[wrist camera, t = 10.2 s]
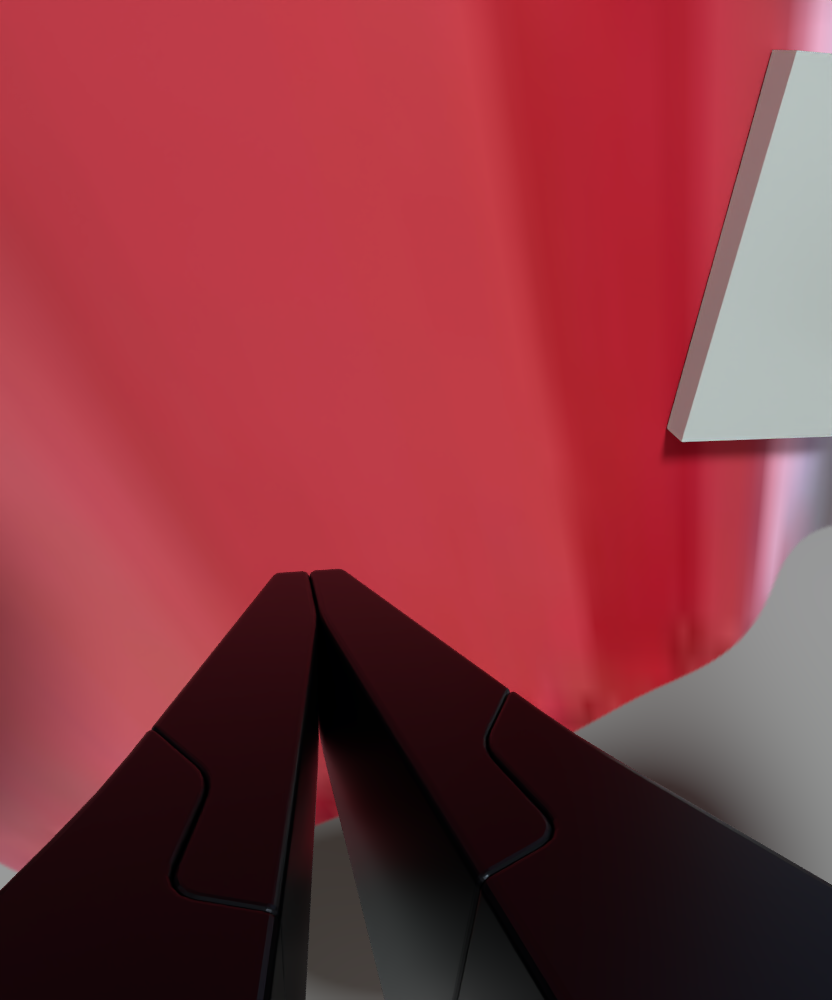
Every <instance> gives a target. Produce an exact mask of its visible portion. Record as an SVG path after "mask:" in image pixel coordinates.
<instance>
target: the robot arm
mask: <svg viewBox="0 0 832 1000" xmlns="http://www.w3.org/2000/svg"><path fill="white" fill-rule="evenodd" d="M319 732H320V739H321V744H322V748H323V753H324V757H325V761H326V766H327V770H328V774H329V778H330V782H331V786H332V790H333V794H334V798H335V802H336V806H337V810H338V814H339V818H340V822H341V826H342V830H343V834H344V838H345V842H346V846H347V850H348V854H349V858H350V862H351V866H352V870H353V874H354V878H355V882H356V886H357V890H358V894H359V898H360V903H361V907H362V911H363V914H364V919H365V923H366V926H367V931H368V935H369V939H370V943H371V947H372V951H373V954H374V959H375V963H376V967H377V971H378V975H379V979H380V983H381V987H382V991H383V995H384V999H385V1000H832V885H831V884H829V883H828V882H826V881H824V880H823V879H821V878H819V877H817V876H816V875H814V874H812V873H811V872H809V871H807V870H805V869H803V868H802V867H800V866H799V865H797V864H795V863H793V862H792V861H790V860H788V859H787V858H785V857H783V856H781V855H780V854H778V853H776V852H775V851H773V850H771V849H769V848H767V847H766V846H764V845H763V844H761V843H759V842H757V841H756V840H754V839H752V838H750V837H749V836H747V835H745V834H744V833H742V832H740V831H738V830H737V829H735V828H733V827H732V826H730V825H728V824H726V823H725V822H723V821H721V820H720V819H718V818H716V817H714V816H713V815H711V814H709V813H708V812H706V811H704V810H702V809H701V808H699V807H697V806H695V805H694V804H692V803H690V802H689V801H687V800H685V799H684V798H682V797H680V796H678V795H677V794H675V793H673V792H671V791H670V790H668V789H666V788H665V787H663V786H661V785H659V784H658V783H656V782H654V781H653V780H651V779H649V778H647V777H646V776H644V775H642V774H641V773H639V772H637V771H636V770H633V769H632V768H630V767H628V766H627V765H625V764H624V763H622V762H620V761H619V760H617V759H615V758H614V757H612V756H610V755H609V754H607V753H605V752H604V751H602V750H601V749H599V748H597V747H596V746H594V745H592V744H591V743H589V742H587V741H586V740H584V739H583V738H581V737H579V736H578V735H576V734H575V733H573V732H572V731H570V730H569V729H567V728H566V727H564V726H563V725H561V724H560V723H558V722H557V721H555V720H554V719H552V718H551V717H550V716H548V715H547V714H545V713H544V712H542V711H541V710H539V709H538V708H536V707H535V706H534V705H532V704H531V703H529V702H528V701H527V700H525V699H524V698H522V697H521V696H520V695H518V694H517V693H515V692H510V691H509V689H508V688H507V687H505V686H504V685H502V684H501V683H500V682H498V681H497V680H495V679H494V678H493V677H491V676H490V675H489V674H487V673H486V672H484V671H483V670H482V669H480V668H479V667H477V666H476V665H475V664H473V663H472V662H471V661H469V660H468V659H466V658H465V657H464V656H462V655H461V654H459V653H458V652H457V651H455V650H454V649H452V648H451V647H450V646H448V645H447V644H446V643H444V642H443V641H441V640H440V639H439V638H437V637H436V636H434V635H433V634H432V633H430V632H429V631H428V630H426V629H425V628H423V627H422V626H421V625H419V624H418V623H416V622H415V621H414V620H412V619H411V618H410V617H408V616H407V615H405V614H404V613H403V612H401V611H400V610H398V609H397V608H396V607H394V606H393V605H391V604H390V603H389V602H387V601H386V600H385V599H383V598H382V597H380V596H379V595H378V594H376V593H375V592H373V591H372V590H371V589H369V588H368V587H367V586H365V585H364V584H362V583H361V582H360V581H358V580H357V579H355V578H354V577H353V576H351V575H350V574H348V573H347V572H346V571H344V570H342V569H330V570H315V571H313V572H312V573H311V574H310V576H309V575H308V574H307V573H306V572H303V571H300V572H285V573H277V574H275V575H274V576H273V577H272V578H271V579H270V581H269V582H268V583H267V584H266V586H265V587H264V588H263V589H262V591H261V592H260V593H259V594H258V596H257V597H256V598H255V599H254V601H253V602H252V603H251V604H250V606H249V607H248V608H247V609H246V611H245V612H244V613H243V614H242V616H241V617H240V618H239V619H238V621H237V622H236V623H235V624H234V626H233V627H232V628H231V629H230V631H229V632H228V633H227V634H226V636H225V637H224V638H223V639H222V641H221V642H220V643H219V644H218V646H217V647H216V648H215V649H214V651H213V652H212V653H211V654H210V656H209V657H208V658H207V659H206V661H205V662H204V663H203V664H202V666H201V667H200V668H199V669H198V671H197V672H196V673H195V675H194V676H193V677H192V678H191V680H190V681H189V682H188V683H187V685H186V686H185V687H184V688H183V690H182V691H181V692H180V693H179V695H178V696H177V697H176V698H175V700H174V701H173V702H172V703H171V705H170V706H169V707H168V708H167V710H166V711H165V712H164V713H163V715H162V716H161V717H160V718H159V720H158V721H157V722H156V723H155V725H154V726H153V727H152V730H150V731H148V732H147V733H146V734H145V735H144V737H143V738H142V739H141V740H140V742H139V743H138V744H137V745H136V747H135V748H134V749H133V750H132V752H131V753H130V754H129V755H128V756H127V758H126V759H125V760H124V761H123V762H122V763H121V765H120V766H119V767H118V768H117V769H116V770H115V772H114V773H113V774H112V775H111V776H110V777H109V779H108V780H107V781H106V782H105V783H104V784H103V786H102V787H101V788H100V789H99V790H98V791H97V793H96V794H95V795H94V796H93V797H92V798H91V799H90V800H89V801H88V802H87V803H86V804H85V805H84V806H83V807H82V808H81V809H80V810H79V811H78V812H77V813H76V815H75V816H74V817H73V818H72V819H71V820H70V821H69V822H68V823H67V824H66V825H65V826H64V827H63V828H62V829H61V830H60V831H59V832H58V833H57V834H56V835H55V836H54V837H53V838H52V840H51V841H50V842H48V843H47V844H46V845H45V846H44V847H43V848H42V849H41V850H40V851H39V852H38V853H37V854H36V855H35V856H34V857H33V858H32V859H31V860H30V861H29V862H28V863H27V864H26V865H25V866H24V867H23V868H22V869H21V870H20V871H19V872H18V873H17V874H16V875H15V876H14V877H13V878H12V879H11V880H10V881H9V882H8V883H7V884H6V885H5V886H4V887H3V888H2V889H1V890H0V1000H305V999H306V980H307V959H308V941H309V922H310V903H311V884H312V866H313V847H314V846H313V845H314V828H315V809H316V790H317V771H318V745H319Z"/></svg>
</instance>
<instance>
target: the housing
mask: <svg viewBox="0 0 832 1000" xmlns="http://www.w3.org/2000/svg"><path fill="white" fill-rule="evenodd" d="M667 429H668V430H669V431H670V432H671V433H672V434H673V435H674V436H676V437H677V438H678V439H679V440H680V441H681V442H694V441H722V440H749V439H777V438H804V437H832V54H830V53H819V52H808V51H797V50H772V54H771V57H770V61H769V64H768V68H767V72H766V75H765V79H764V82H763V86H762V90H761V93H760V97H759V100H758V104H757V107H756V111H755V115H754V118H753V122H752V125H751V129H750V132H749V136H748V140H747V143H746V147H745V150H744V154H743V157H742V161H741V165H740V168H739V172H738V175H737V179H736V182H735V186H734V190H733V193H732V197H731V200H730V204H729V208H728V211H727V215H726V218H725V222H724V225H723V229H722V233H721V236H720V240H719V243H718V247H717V250H716V254H715V258H714V261H713V265H712V268H711V272H710V275H709V279H708V283H707V286H706V290H705V293H704V297H703V301H702V304H701V308H700V311H699V315H698V318H697V322H696V326H695V329H694V333H693V336H692V340H691V343H690V347H689V351H688V354H687V358H686V361H685V365H684V368H683V372H682V376H681V379H680V383H679V386H678V390H677V394H676V397H675V401H674V404H673V408H672V411H671V415H670V419H669V422H668V426H667Z"/></svg>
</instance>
